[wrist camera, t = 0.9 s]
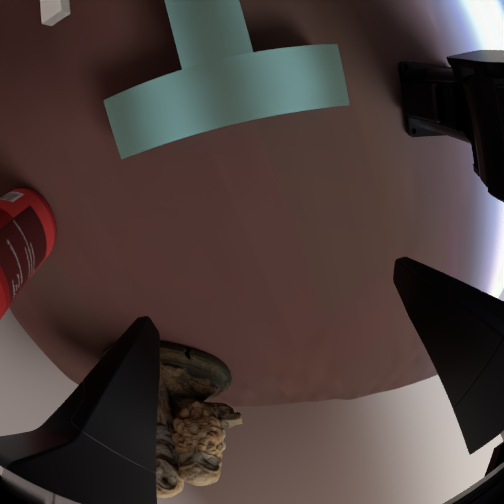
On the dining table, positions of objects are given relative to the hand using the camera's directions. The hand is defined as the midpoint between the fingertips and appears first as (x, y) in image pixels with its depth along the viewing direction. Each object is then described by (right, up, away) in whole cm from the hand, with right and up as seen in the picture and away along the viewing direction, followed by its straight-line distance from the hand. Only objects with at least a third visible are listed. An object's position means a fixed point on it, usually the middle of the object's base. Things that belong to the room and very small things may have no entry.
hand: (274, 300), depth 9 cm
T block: (-3, +16, +5) cm, 17 cm away
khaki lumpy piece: (-11, -13, +22) cm, 28 cm away
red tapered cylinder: (-22, +4, +11) cm, 25 cm away
